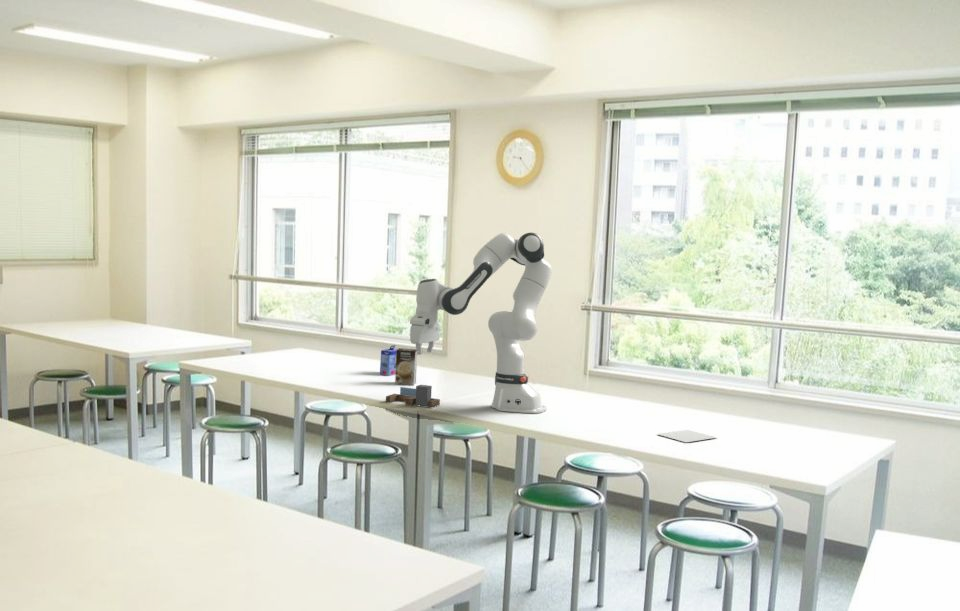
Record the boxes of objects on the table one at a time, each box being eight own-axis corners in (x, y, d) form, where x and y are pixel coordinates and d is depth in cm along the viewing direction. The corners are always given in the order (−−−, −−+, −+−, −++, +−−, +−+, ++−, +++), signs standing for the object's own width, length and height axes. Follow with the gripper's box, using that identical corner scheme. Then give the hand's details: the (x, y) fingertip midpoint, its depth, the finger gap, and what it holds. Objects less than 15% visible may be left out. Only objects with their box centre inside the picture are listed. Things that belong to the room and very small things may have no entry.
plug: (430, 405, 351) (431, 385, 350) (426, 407, 347) (427, 387, 346) (419, 404, 353) (420, 384, 352) (415, 405, 349) (416, 386, 348)
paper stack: (738, 445, 304) (738, 443, 304) (691, 452, 289) (691, 450, 289) (687, 431, 323) (687, 429, 323) (640, 438, 308) (640, 436, 308)
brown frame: (443, 403, 355) (443, 391, 354) (432, 408, 345) (432, 395, 345) (397, 398, 362) (398, 386, 362) (385, 402, 353) (386, 390, 352)
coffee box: (394, 384, 396) (395, 349, 395) (397, 382, 402) (398, 348, 401) (414, 385, 395) (415, 350, 394) (416, 383, 401) (417, 349, 400)
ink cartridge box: (388, 376, 418) (389, 346, 417) (379, 374, 421) (380, 345, 420) (399, 373, 427) (400, 344, 426) (390, 372, 430) (391, 343, 429)
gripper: (430, 317, 358) (428, 350, 359) (407, 320, 339) (406, 354, 340) (444, 318, 356) (442, 351, 356) (422, 321, 337) (420, 356, 338)
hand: (424, 353), depth 348 cm, fingers open, 8 cm apart
